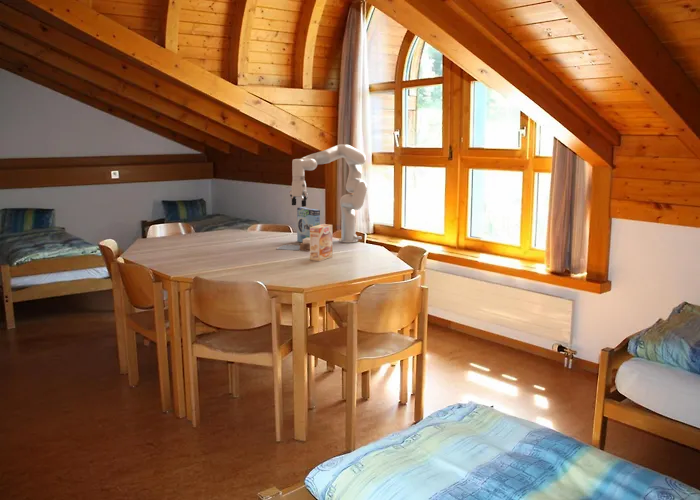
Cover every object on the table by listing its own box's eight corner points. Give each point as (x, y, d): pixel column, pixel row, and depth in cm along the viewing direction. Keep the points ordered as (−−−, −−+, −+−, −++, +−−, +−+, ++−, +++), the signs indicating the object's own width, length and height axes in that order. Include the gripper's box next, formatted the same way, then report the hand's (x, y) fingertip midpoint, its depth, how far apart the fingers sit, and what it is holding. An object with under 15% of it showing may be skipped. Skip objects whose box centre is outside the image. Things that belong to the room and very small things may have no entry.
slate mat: (306, 246, 439) (306, 245, 439) (298, 250, 424) (298, 250, 424) (284, 245, 443) (284, 244, 443) (275, 249, 428) (275, 248, 428)
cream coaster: (318, 241, 432) (318, 238, 432) (314, 243, 425) (314, 240, 424) (306, 241, 434) (306, 237, 434) (302, 243, 427) (302, 239, 426)
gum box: (297, 241, 457) (296, 207, 453) (303, 240, 460) (302, 207, 456) (314, 245, 442) (313, 210, 438) (320, 244, 445) (320, 209, 441)
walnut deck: (320, 247, 436) (320, 240, 435) (313, 250, 422) (313, 244, 422) (306, 246, 438) (306, 240, 437) (299, 250, 425) (299, 243, 424)
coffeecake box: (319, 261, 390) (319, 227, 387) (309, 260, 394) (309, 226, 390) (333, 257, 403) (332, 224, 400) (322, 255, 407) (322, 223, 403)
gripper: (312, 179, 423) (312, 206, 426) (294, 177, 435) (294, 204, 438) (302, 179, 418) (303, 207, 421) (285, 178, 430) (285, 205, 433)
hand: (298, 205), depth 430 cm, fingers open, 9 cm apart
